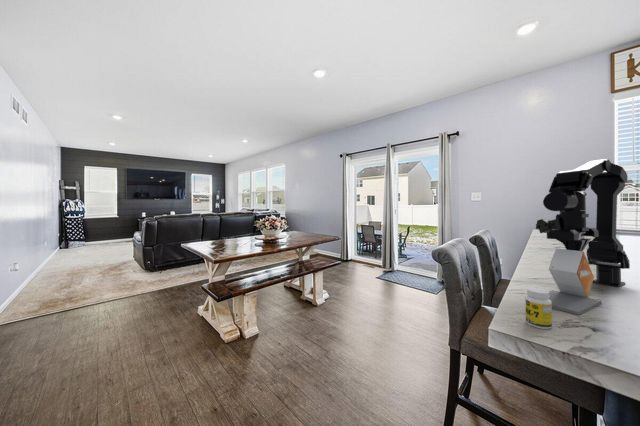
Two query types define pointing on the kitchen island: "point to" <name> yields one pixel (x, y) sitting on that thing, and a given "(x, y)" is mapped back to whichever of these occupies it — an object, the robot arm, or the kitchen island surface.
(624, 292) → the kitchen island surface
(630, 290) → the kitchen island surface
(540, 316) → the supplement bottle
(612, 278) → the robot arm
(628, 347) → the kitchen island surface
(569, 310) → the mat
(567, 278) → the small box
